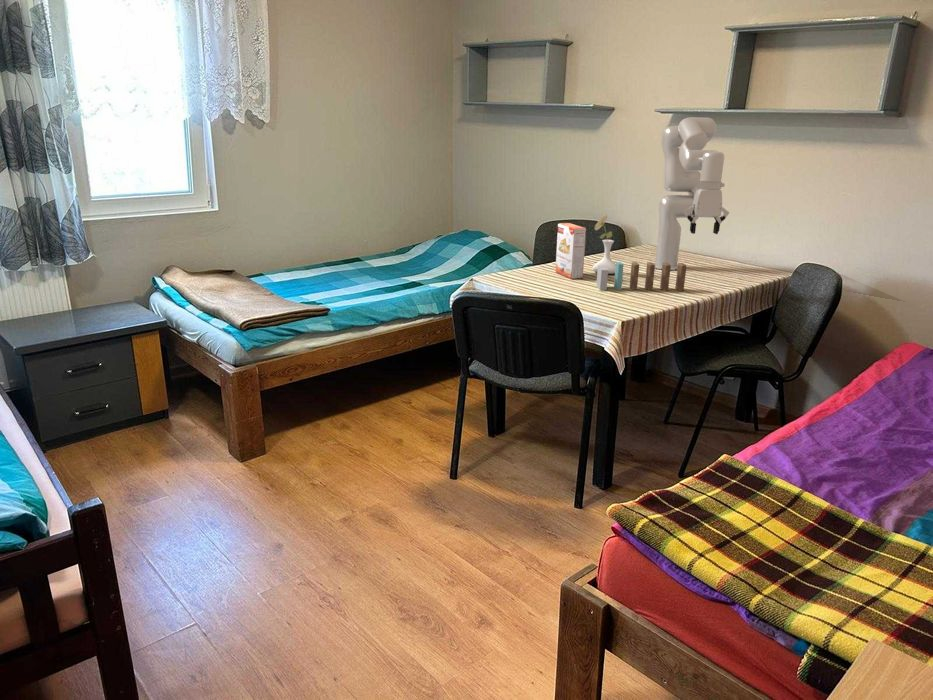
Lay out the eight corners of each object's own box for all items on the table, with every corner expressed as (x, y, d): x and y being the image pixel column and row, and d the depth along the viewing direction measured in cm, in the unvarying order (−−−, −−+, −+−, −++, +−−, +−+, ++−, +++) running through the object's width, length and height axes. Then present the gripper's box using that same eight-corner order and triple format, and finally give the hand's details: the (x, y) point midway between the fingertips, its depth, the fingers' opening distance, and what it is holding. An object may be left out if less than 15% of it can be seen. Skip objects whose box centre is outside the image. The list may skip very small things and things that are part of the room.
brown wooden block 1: (632, 290, 275) (634, 264, 272) (629, 287, 279) (631, 262, 276) (636, 290, 275) (639, 264, 272) (633, 287, 280) (636, 262, 276)
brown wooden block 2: (678, 291, 275) (681, 265, 272) (675, 288, 280) (678, 262, 276) (683, 291, 275) (686, 265, 272) (679, 288, 280) (682, 262, 277)
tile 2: (663, 290, 275) (666, 265, 272) (659, 287, 280) (662, 262, 276) (668, 290, 275) (670, 265, 272) (664, 287, 280) (667, 262, 276)
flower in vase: (605, 269, 312) (610, 211, 304) (624, 274, 303) (630, 214, 295) (583, 272, 305) (587, 213, 297) (602, 277, 296) (607, 216, 288)
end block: (596, 285, 281) (597, 265, 278) (602, 285, 281) (604, 265, 278) (599, 290, 273) (601, 270, 271) (606, 290, 273) (608, 270, 271)
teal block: (618, 287, 280) (620, 261, 276) (621, 290, 275) (623, 264, 272) (613, 286, 280) (616, 261, 276) (616, 289, 275) (618, 264, 272)
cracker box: (554, 272, 303) (557, 223, 296) (567, 271, 305) (570, 222, 298) (570, 279, 291) (573, 228, 284) (583, 278, 293) (587, 227, 286)
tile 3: (647, 290, 275) (650, 264, 272) (644, 287, 280) (647, 262, 276) (652, 290, 275) (655, 265, 272) (649, 287, 280) (651, 262, 276)
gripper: (729, 185, 269) (723, 232, 274) (683, 184, 268) (678, 231, 274) (736, 187, 262) (730, 235, 267) (689, 186, 261) (684, 234, 267)
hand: (704, 233), depth 270 cm, fingers open, 8 cm apart
